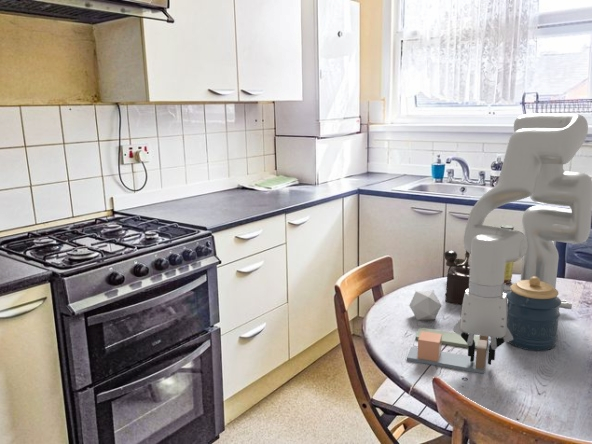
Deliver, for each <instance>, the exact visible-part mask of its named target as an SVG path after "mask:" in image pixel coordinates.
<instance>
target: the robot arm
mask: <svg viewBox="0 0 592 444" xmlns="http://www.w3.org/2000/svg"><path fill="white" fill-rule="evenodd" d="M588 130H589V125H588V121H587V119H586V117H585V116H583V115H582V114H577V113H525V114H522V115H519V116H517V117H516V119H515V120H514V123H513V133H512V134H511V135H510V138H509V140H508V142H507V143H508V144H507V147H506V151H505V154H504V158H503V162H502V166H501V169H500V173H499V175H498V179H497V182H496V185H495V186H494V187H492V188H491V189H489V190H488V191H486V192H485V194H483V195H482V196H481V197H480V198H479V199H478V200H477V202H475V204H474V205H473V206H472V208H471V210H470V212H469V215H468V219H467V221H466V224H465V225H466V226H465V228H464V233H463V238H462V239H463V240H462V245H463V248H464V249H465V252H466V251H467V252H468V253H469V254H470V257H469V259H470V263H469V265H470V275H469V289H466V291H465V294H464V298H463V304H462V305H461V313H460V314H461V315H460V319H459V320H458V321H457V323H456V324H455V325H454V326H453V329H452V330H453V331H452V332H453V333H457V334H458V335H460V336H461V337H462V338H463V339H464V340H465V341H466V342H467V345H468V349H467V356H471V358H470V361H471V362H473V361H474V357H475V356H476V355H475V354H476V353H475V352H476V351H475V350H476V349H475V341H474V336H480V335H481V336H488V337H490V344H488V355H487V364H488V365H489V366H490V365H492V361H495V358H496V357H495V356H496V350H497V348H498V347H500V346H502V345H503V344H504V343H507V342H508V341H511V340H513V334H512V332H511V330H510V329H509V327H508V325H507V313H508V305H507V304H508V299H507V296H506V294H507V293H508V292H510V291H511V288H510V287H511V285H507V284H505V283H504V275H505V264H506V263H511V262H513V263H515V262H518V261H520V260H521V259H522V260H521V271H520V272H521V273H520V274H521V275H520V281H521V280H530V278H531V277H533V276H535V277H538V278H539V279H540V281H542V282H545V283H548V284H550V285H551V286H552V287H553V288H555V289H556V287H557V279H558V278H557V275H558V266H559V259H560V257H559V251H558V249H557V247H556V246H555V244H554V242H560V243H567V244H574V245H575V244H576V245H578V244H579V245H580V244H583V243H585V242H587V240H588V239H589V237H590V234H591V228H592V227H591V226H592V178H591V176H590V175H588V174H587V173H585V172H581V171H580V172H579V171H567V170H565V169H564V165H566V164H568V163H569V162H570V161H572V159H573V158H574V157H575V156H576V154H577V152H579V151H580V149H581V148H582V146H583V144H584V143H585V141H586V139H587V136H588V132H589V131H588ZM527 198H529V199H530V200H531V201H533V202H534V203H538V204H542V205H533V206H530V207H528V208H526V209H525V210H524V212H523V214H522V219H521V224H522V225H521V226H522V232H521V231H519V230H515V229H514V230H511V229H504V228H501V227H499V226H489V225H484V221H485V220H486V219H487V217H488V216H489V214H490V213H491V212H492V211H494V210H495V209H497V208H499V207H501V206H504V205H507V204H510V203H513V202H516V201H517V202H518V201H520V200H524V199H527ZM548 205H550V206H548ZM551 205H552V206H551ZM558 206H559V207H558ZM560 206H561V207H560ZM566 207H568V208H566ZM506 292H507V293H506ZM560 300H561V305H560V306H559V307H558V311H559V312H560V309H564V310H572V307H573V302H568V301H567V300H566V299H560ZM508 343H509V342H508Z"/></svg>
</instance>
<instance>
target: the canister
mask: <svg viewBox="0 0 592 444" xmlns="http://www.w3.org/2000/svg"><path fill="white" fill-rule="evenodd" d="M505 294H506V296H507V305H508V313H507V325H508V327H509V329H510V330H511V332H512V334H513V340H511V341H508V343H509V344H511V345H513V346H515V347H517V348H521V349H524V350H528V351H547V350H551V349H553V348H555V347H556V343H557V341H558V338H559V337H558V331H559V330H558V328H559V320H560V316H561V312H560V310H559V311H558V307H559V306H560V305H561V300H562V299H560V298H559V291H558V289H556V288H553V287H552V286H551V285H550V284H548V283H545V282H542V281H540V279H539V278H538V277H535V276H533V277H531V278H530V280H521V279H520V280H518V281H517V282H514V283H512V284H511V285H510V292H508V291H507V293H505Z"/></svg>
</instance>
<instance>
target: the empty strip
mask: <svg viewBox="0 0 592 444" xmlns="http://www.w3.org/2000/svg"><path fill="white" fill-rule="evenodd" d="M421 331H425V332H432V333H439V334H442V344H443V345H448V346H455V347H461V348H468V345H467V342H466V341H465V340H464V339H463V338H462V337H461V336H460V335H458V334H457V333H455V332H454V331H446V330H439V329H431V328H425V327H418V330H417V332H416V335H415V340H417V341H418V339H419V336H420V334H421ZM478 339H479V340H486V341H487V349H486V352H487V351H488V348H489V337H488V336H481V335H474V341H475V350H477V344H478Z"/></svg>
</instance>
